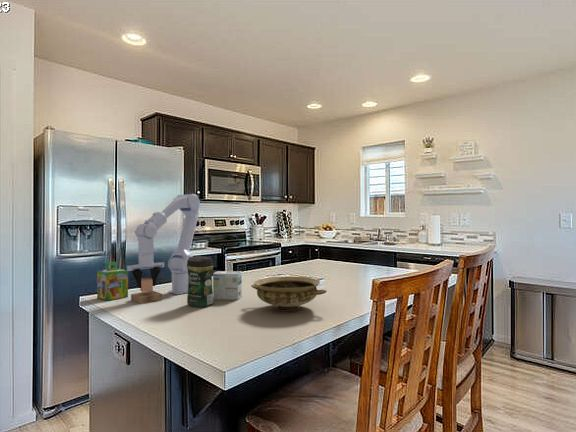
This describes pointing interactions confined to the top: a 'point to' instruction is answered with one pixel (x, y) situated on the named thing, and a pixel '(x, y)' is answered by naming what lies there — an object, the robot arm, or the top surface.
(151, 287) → the terracotta block
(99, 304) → the top surface
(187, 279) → the robot arm
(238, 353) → the top surface
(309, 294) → the ceramic bowl
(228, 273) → the light bulb box
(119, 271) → the chalk box
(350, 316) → the top surface
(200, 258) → the coffee jar
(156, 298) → the walnut slab
